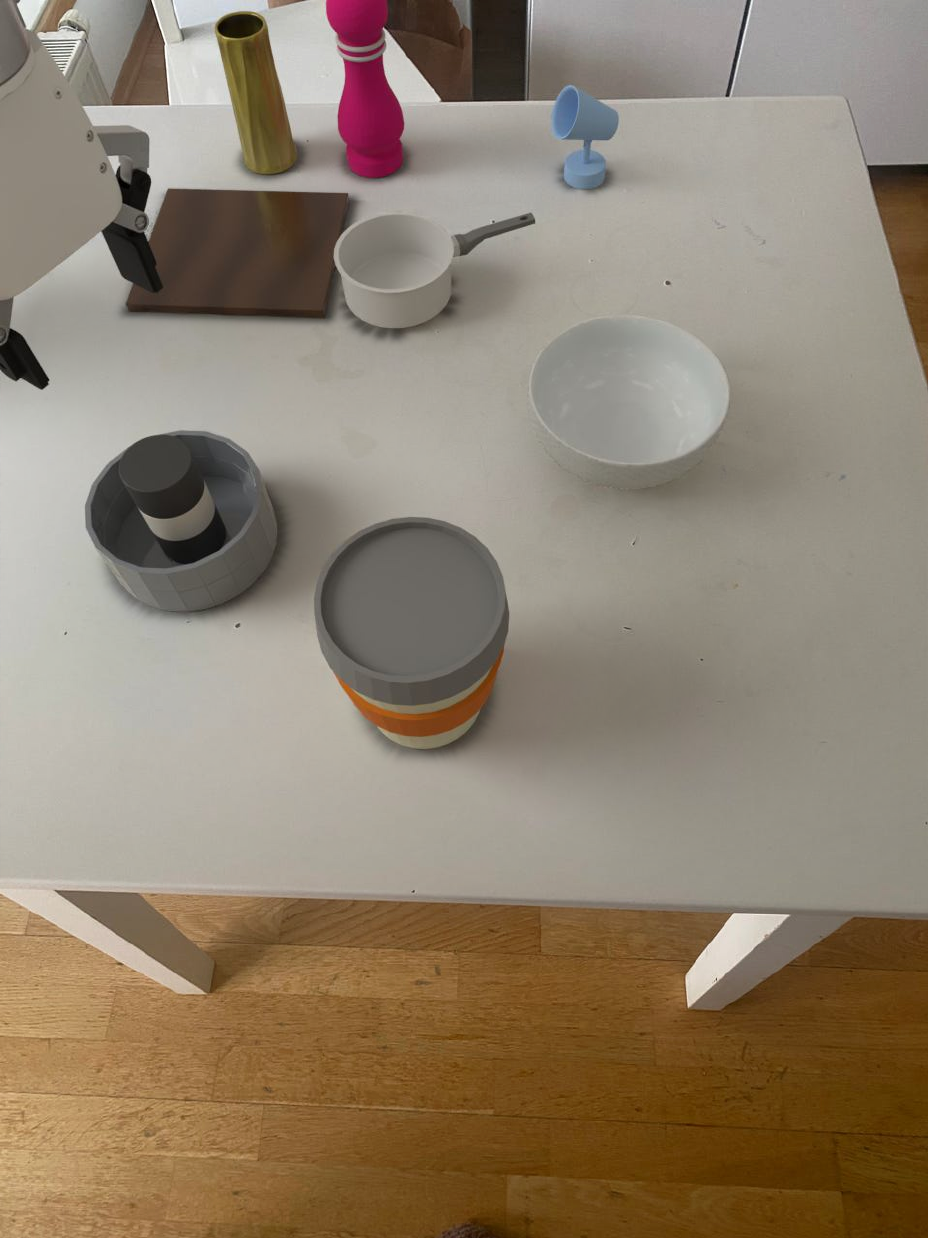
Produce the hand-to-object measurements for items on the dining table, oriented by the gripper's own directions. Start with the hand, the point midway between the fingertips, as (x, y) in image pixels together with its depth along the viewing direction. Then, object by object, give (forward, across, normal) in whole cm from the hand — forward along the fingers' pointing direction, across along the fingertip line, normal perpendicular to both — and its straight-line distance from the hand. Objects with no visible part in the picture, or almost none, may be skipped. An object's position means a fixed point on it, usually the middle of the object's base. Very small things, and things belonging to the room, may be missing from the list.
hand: (88, 329), depth 56 cm
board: (+24, -30, -21) cm, 43 cm away
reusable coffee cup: (+24, +1, +24) cm, 34 cm away
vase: (+24, -44, -29) cm, 57 cm away
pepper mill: (+24, -50, -19) cm, 58 cm away
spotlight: (+24, -59, +2) cm, 64 cm away
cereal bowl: (+24, -29, +24) cm, 45 cm away
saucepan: (+24, -37, -1) cm, 44 cm away
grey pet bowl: (+24, 0, 0) cm, 24 cm away
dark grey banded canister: (+23, 0, 0) cm, 23 cm away
